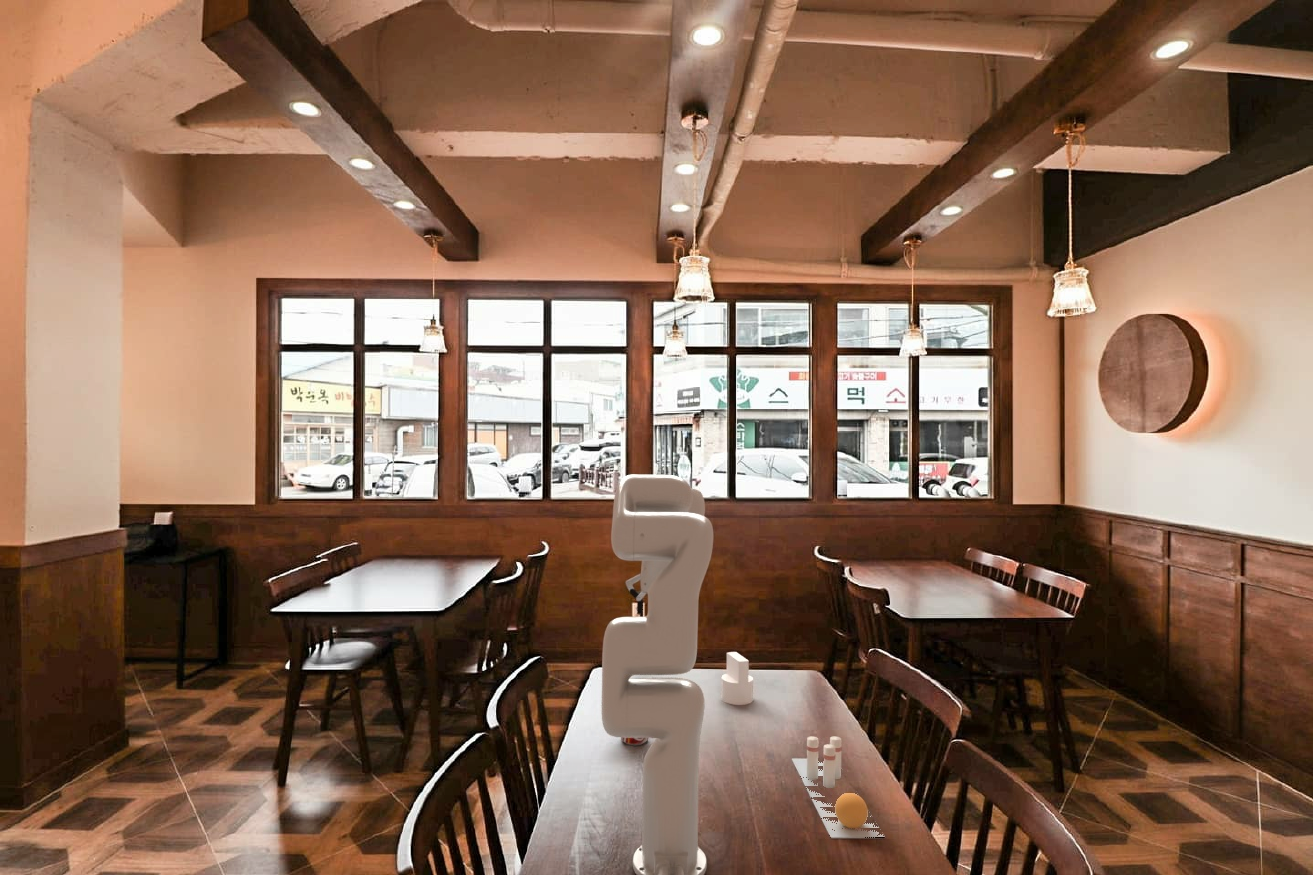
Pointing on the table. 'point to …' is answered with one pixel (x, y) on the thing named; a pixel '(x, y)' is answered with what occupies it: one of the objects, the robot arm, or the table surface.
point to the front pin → (829, 766)
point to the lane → (839, 832)
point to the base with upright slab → (737, 681)
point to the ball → (851, 810)
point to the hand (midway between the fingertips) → (661, 617)
